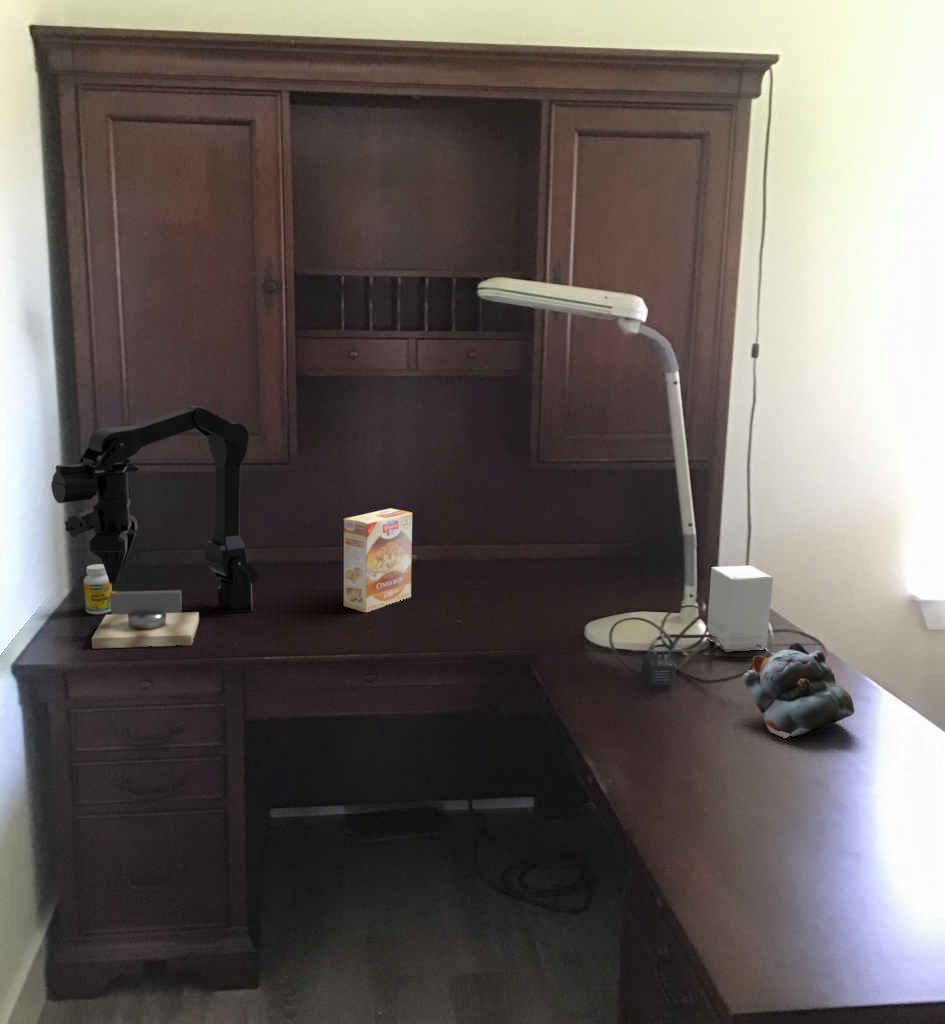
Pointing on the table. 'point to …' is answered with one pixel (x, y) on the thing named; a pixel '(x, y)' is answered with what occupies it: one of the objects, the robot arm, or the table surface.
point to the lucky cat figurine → (796, 691)
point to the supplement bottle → (97, 590)
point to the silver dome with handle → (146, 607)
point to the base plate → (146, 632)
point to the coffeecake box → (377, 559)
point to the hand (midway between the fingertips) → (116, 576)
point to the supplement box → (739, 606)
